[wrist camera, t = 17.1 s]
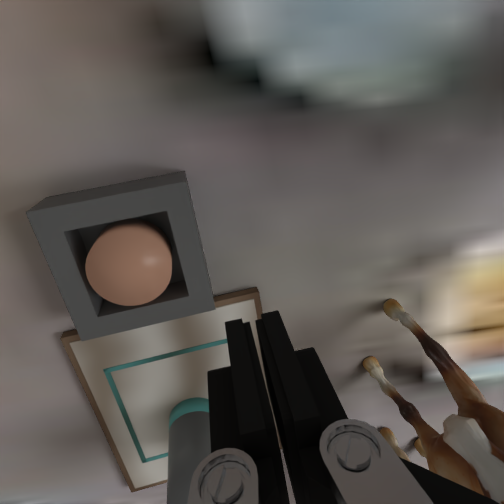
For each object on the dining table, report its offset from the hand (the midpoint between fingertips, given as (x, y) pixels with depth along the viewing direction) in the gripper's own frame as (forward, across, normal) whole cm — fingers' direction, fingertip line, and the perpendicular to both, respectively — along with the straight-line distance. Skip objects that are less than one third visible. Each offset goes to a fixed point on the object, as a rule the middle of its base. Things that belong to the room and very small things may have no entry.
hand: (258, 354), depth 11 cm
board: (+16, +6, +16) cm, 23 cm away
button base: (+16, +6, +1) cm, 17 cm away
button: (+14, +6, +1) cm, 16 cm away
